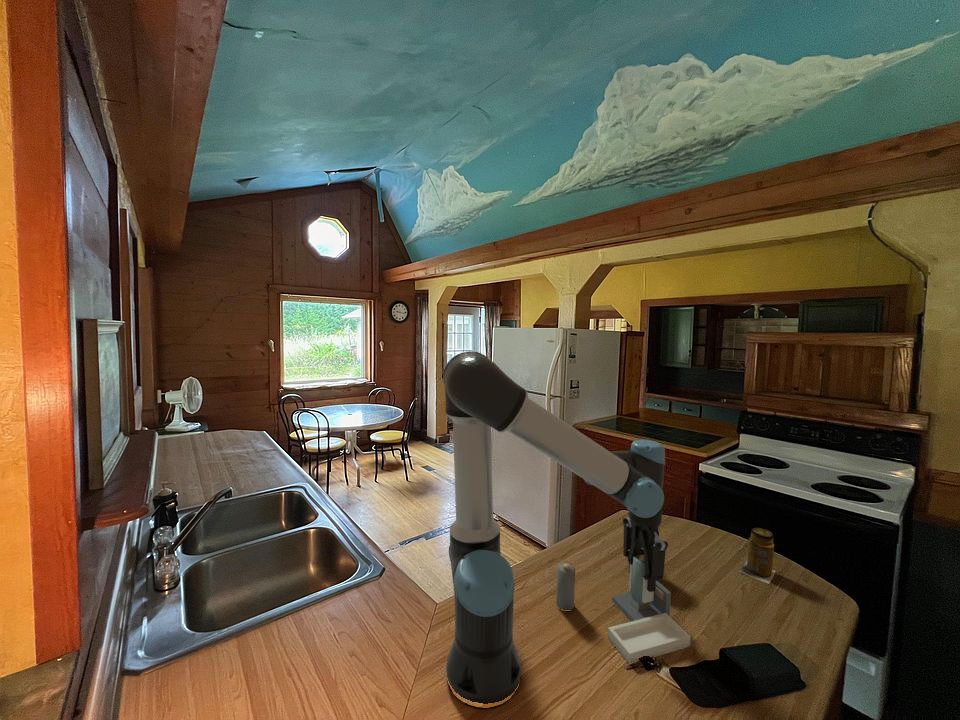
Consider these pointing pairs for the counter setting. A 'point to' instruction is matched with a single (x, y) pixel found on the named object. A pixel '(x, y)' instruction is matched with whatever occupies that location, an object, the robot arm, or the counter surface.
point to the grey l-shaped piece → (657, 607)
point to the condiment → (760, 556)
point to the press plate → (640, 605)
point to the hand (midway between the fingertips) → (640, 594)
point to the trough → (648, 637)
